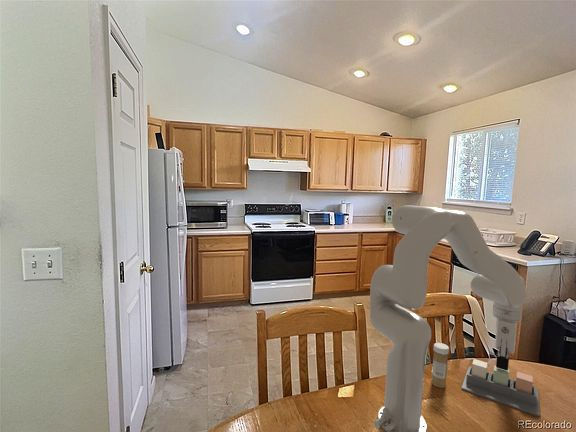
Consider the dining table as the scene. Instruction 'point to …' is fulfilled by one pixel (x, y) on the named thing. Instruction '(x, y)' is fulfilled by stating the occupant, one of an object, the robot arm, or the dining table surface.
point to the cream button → (479, 369)
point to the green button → (500, 376)
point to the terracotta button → (524, 383)
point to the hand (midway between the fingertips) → (502, 367)
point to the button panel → (502, 392)
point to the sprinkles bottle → (440, 365)
